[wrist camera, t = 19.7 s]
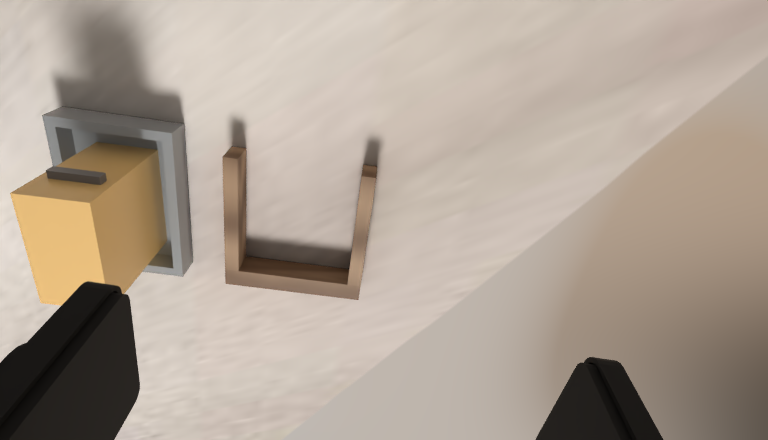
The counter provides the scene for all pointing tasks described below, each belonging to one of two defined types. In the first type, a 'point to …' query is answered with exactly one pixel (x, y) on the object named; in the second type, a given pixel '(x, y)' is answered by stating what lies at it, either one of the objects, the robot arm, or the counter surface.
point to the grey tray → (86, 127)
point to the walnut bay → (284, 272)
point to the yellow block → (92, 219)
